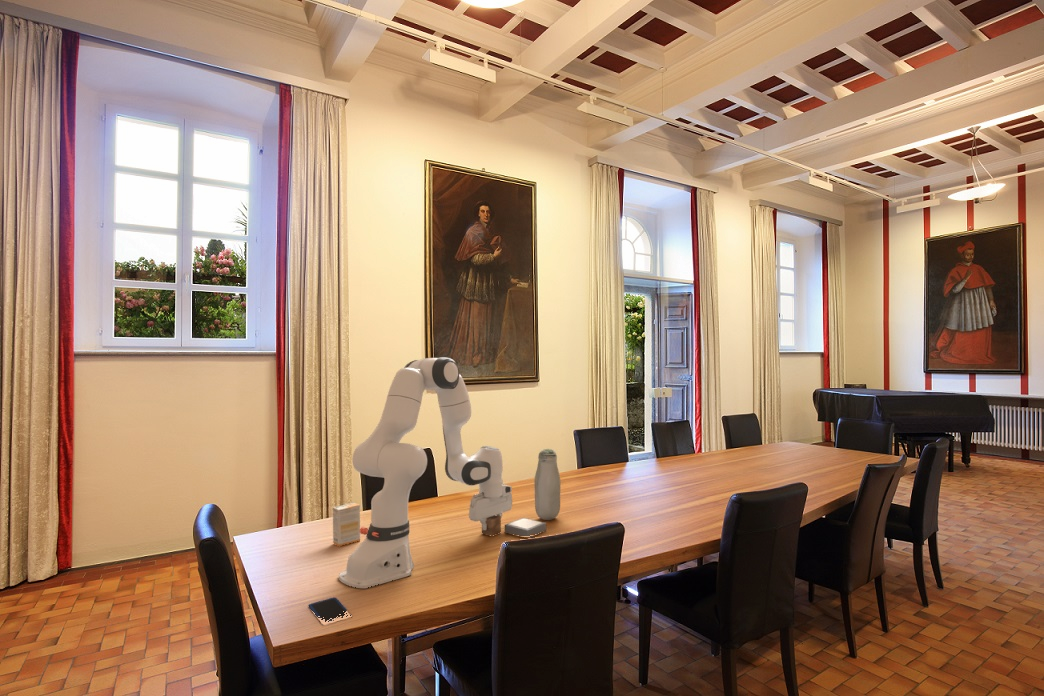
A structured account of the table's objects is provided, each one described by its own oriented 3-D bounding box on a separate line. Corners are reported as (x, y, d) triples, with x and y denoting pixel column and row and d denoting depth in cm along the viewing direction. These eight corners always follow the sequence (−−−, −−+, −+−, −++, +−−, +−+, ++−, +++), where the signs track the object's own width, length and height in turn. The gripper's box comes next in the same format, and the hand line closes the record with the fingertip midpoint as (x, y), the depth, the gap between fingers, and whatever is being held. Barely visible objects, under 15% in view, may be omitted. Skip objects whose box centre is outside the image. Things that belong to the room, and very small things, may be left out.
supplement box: (354, 538, 195) (353, 502, 195) (360, 541, 191) (360, 504, 191) (332, 544, 189) (332, 506, 189) (338, 547, 185) (338, 509, 186)
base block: (527, 538, 192) (527, 529, 192) (504, 532, 199) (504, 524, 199) (546, 531, 200) (546, 522, 200) (523, 525, 207) (523, 517, 207)
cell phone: (323, 627, 130) (323, 624, 130) (307, 606, 141) (307, 604, 141) (353, 618, 135) (353, 615, 135) (335, 599, 146) (335, 596, 146)
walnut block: (491, 536, 195) (491, 519, 195) (481, 533, 198) (481, 517, 198) (500, 532, 199) (500, 516, 199) (491, 530, 202) (490, 514, 202)
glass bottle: (547, 524, 208) (547, 452, 209) (530, 518, 216) (529, 449, 217) (565, 519, 215) (564, 449, 215) (547, 513, 222) (547, 446, 223)
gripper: (477, 497, 189) (477, 536, 188) (514, 486, 204) (515, 522, 204) (464, 494, 193) (465, 533, 192) (502, 483, 208) (502, 519, 208)
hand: (491, 527), depth 198 cm, fingers closed on walnut block, 5 cm apart
